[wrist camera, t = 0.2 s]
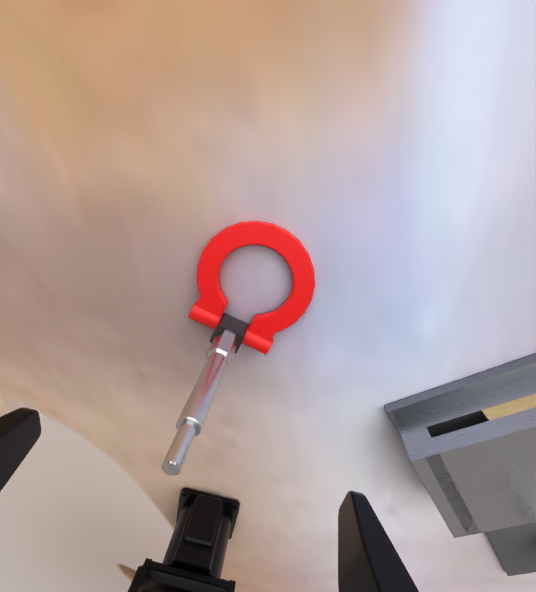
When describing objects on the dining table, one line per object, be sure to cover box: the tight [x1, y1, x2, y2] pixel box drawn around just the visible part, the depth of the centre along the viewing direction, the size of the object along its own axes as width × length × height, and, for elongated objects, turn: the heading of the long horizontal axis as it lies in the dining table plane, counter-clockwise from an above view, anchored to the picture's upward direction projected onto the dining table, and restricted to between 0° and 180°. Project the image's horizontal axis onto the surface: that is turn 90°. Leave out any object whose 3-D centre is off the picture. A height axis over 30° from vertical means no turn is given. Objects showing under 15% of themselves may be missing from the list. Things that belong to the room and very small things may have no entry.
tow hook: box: [162, 221, 315, 476], centre depth 16 cm, size 8×13×9 cm
